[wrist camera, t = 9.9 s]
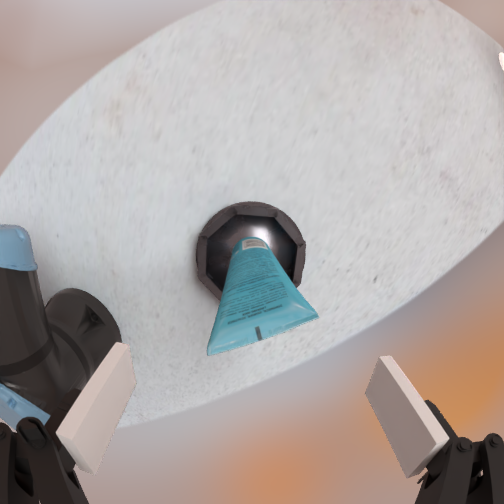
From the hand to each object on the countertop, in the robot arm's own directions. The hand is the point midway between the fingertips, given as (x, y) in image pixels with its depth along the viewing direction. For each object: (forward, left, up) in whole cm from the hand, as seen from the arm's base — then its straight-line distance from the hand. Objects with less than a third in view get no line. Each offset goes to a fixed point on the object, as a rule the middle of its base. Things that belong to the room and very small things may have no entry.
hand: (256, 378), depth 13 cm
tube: (0, 0, -23) cm, 23 cm away
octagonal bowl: (0, 0, -24) cm, 24 cm away
